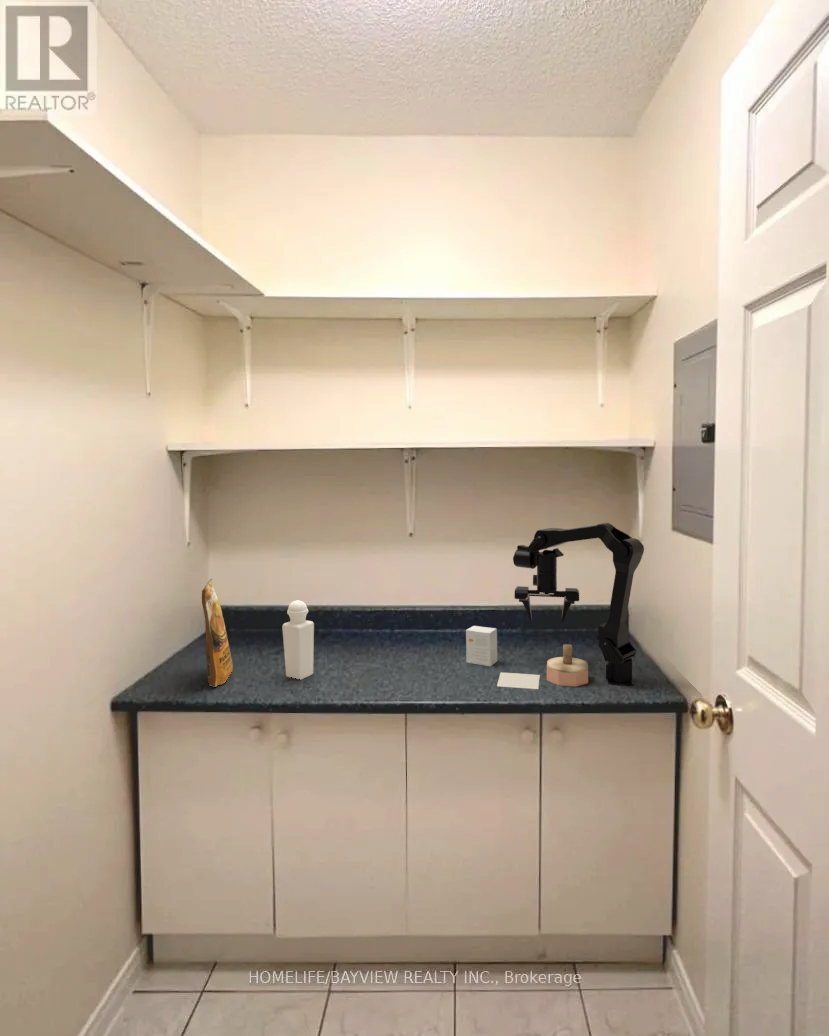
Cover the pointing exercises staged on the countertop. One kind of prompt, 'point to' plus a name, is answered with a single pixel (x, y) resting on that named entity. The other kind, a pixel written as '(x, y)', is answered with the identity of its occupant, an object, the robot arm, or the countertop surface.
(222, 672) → the pancake mix bag
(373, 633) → the countertop surface
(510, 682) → the mat
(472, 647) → the small box
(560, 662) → the lid
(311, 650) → the white square bottle
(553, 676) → the bowl
